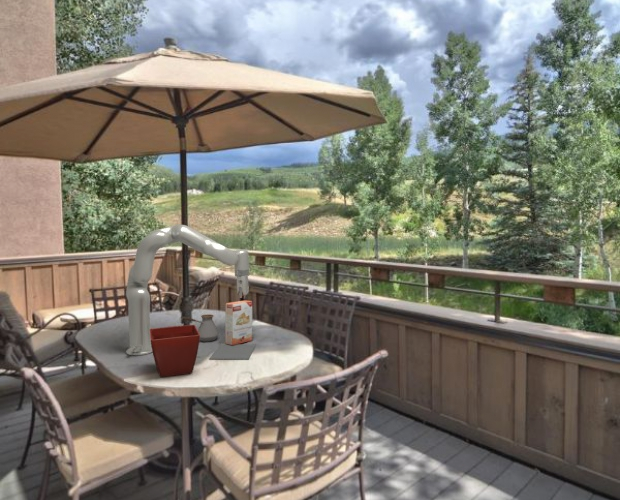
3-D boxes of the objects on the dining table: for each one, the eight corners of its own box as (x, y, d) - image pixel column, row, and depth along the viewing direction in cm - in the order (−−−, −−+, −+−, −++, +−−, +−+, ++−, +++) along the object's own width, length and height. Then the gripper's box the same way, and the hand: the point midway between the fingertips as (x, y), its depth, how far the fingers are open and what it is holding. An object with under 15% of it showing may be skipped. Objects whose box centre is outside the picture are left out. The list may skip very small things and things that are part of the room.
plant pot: (150, 366, 192) (149, 328, 190) (195, 360, 198) (194, 324, 197) (151, 381, 174) (150, 339, 172) (201, 375, 181) (200, 335, 179)
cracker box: (233, 346, 218) (232, 304, 217) (224, 344, 222) (224, 303, 221) (253, 340, 229) (252, 300, 228) (244, 338, 233) (244, 299, 232)
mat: (248, 359, 199) (248, 358, 199) (209, 359, 200) (209, 358, 200) (255, 345, 221) (255, 344, 221) (220, 345, 222) (220, 344, 222)
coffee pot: (210, 335, 240) (210, 308, 238) (223, 339, 232) (222, 311, 230) (175, 343, 224) (174, 314, 223) (187, 348, 216) (186, 318, 215)
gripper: (246, 275, 225) (247, 310, 227) (251, 271, 240) (251, 304, 242) (232, 275, 225) (233, 310, 227) (237, 271, 240) (238, 304, 242)
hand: (242, 307), depth 234 cm, fingers closed
